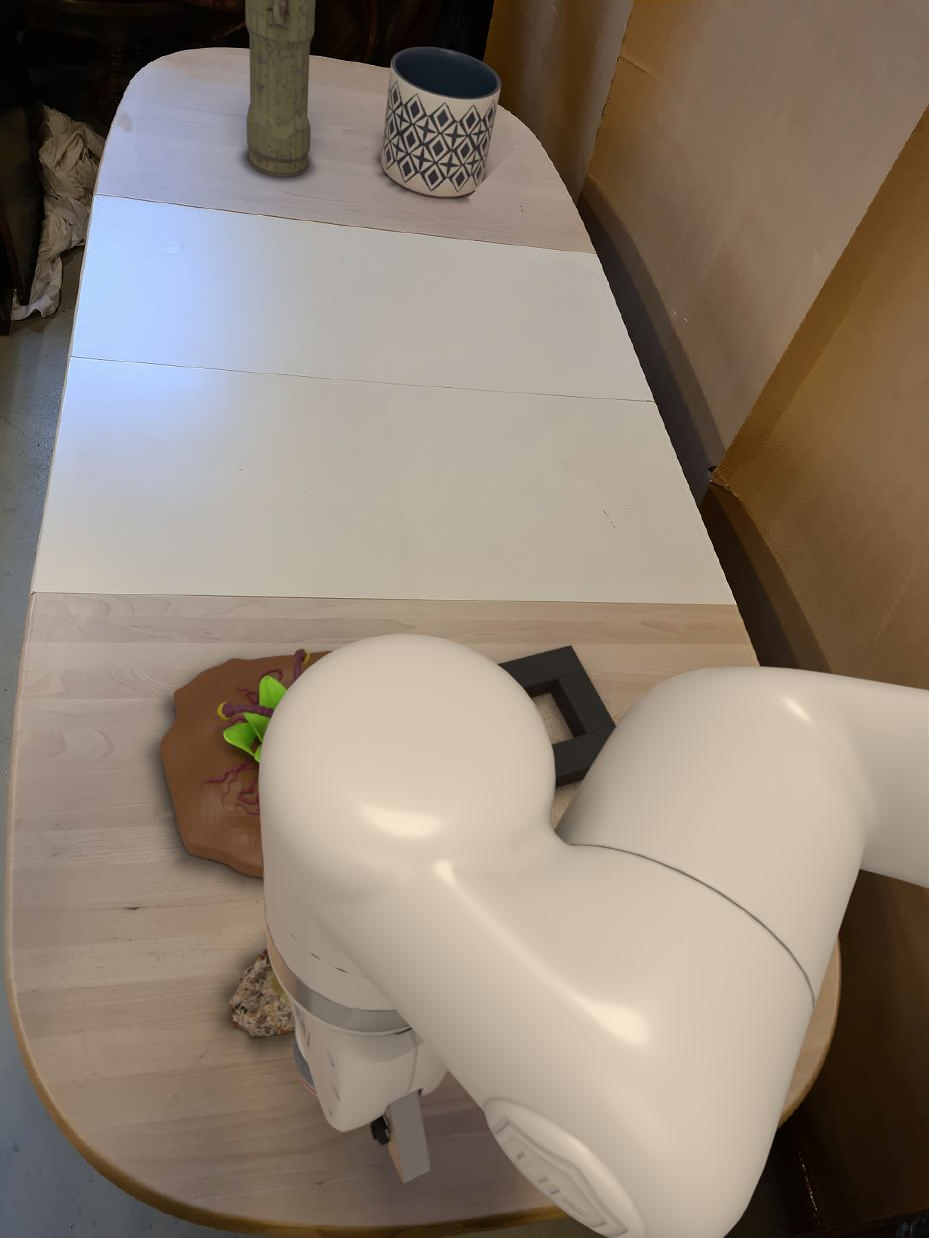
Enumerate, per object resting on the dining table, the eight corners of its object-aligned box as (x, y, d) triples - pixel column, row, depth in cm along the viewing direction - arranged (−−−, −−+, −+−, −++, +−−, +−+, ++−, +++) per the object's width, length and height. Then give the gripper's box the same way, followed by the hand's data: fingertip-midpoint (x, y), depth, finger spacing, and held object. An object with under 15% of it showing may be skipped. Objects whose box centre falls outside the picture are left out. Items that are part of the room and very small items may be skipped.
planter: (358, 162, 134) (367, 59, 123) (427, 137, 143) (441, 38, 132) (436, 211, 130) (452, 109, 118) (502, 182, 139) (523, 84, 127)
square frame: (622, 766, 79) (632, 753, 77) (503, 805, 75) (510, 792, 73) (564, 659, 85) (571, 644, 83) (450, 689, 81) (455, 674, 79)
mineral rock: (347, 886, 66) (394, 975, 61) (351, 917, 69) (396, 1006, 63) (205, 950, 62) (242, 1053, 56) (215, 981, 65) (252, 1082, 59)
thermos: (304, 144, 134) (315, -149, 107) (312, 185, 128) (326, -115, 100) (244, 139, 132) (239, -161, 104) (249, 181, 125) (245, -128, 98)
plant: (163, 897, 65) (147, 837, 56) (161, 675, 76) (147, 596, 67) (426, 862, 70) (450, 802, 62) (389, 659, 81) (404, 583, 73)
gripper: (207, 733, 34) (230, 900, 48) (353, 1238, 25) (328, 1259, 39) (391, 684, 36) (361, 856, 51) (581, 1124, 28) (480, 1182, 42)
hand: (347, 1031), depth 45 cm, fingers closed on pill bottle, 5 cm apart
